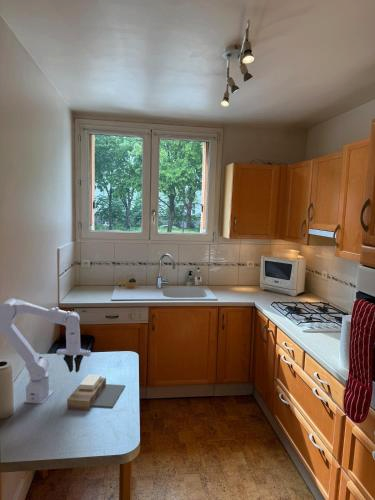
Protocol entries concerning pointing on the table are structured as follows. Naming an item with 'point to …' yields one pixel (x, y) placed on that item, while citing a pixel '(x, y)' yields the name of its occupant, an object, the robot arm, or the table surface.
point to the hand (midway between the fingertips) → (74, 371)
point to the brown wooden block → (85, 397)
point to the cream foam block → (90, 382)
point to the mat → (108, 396)
